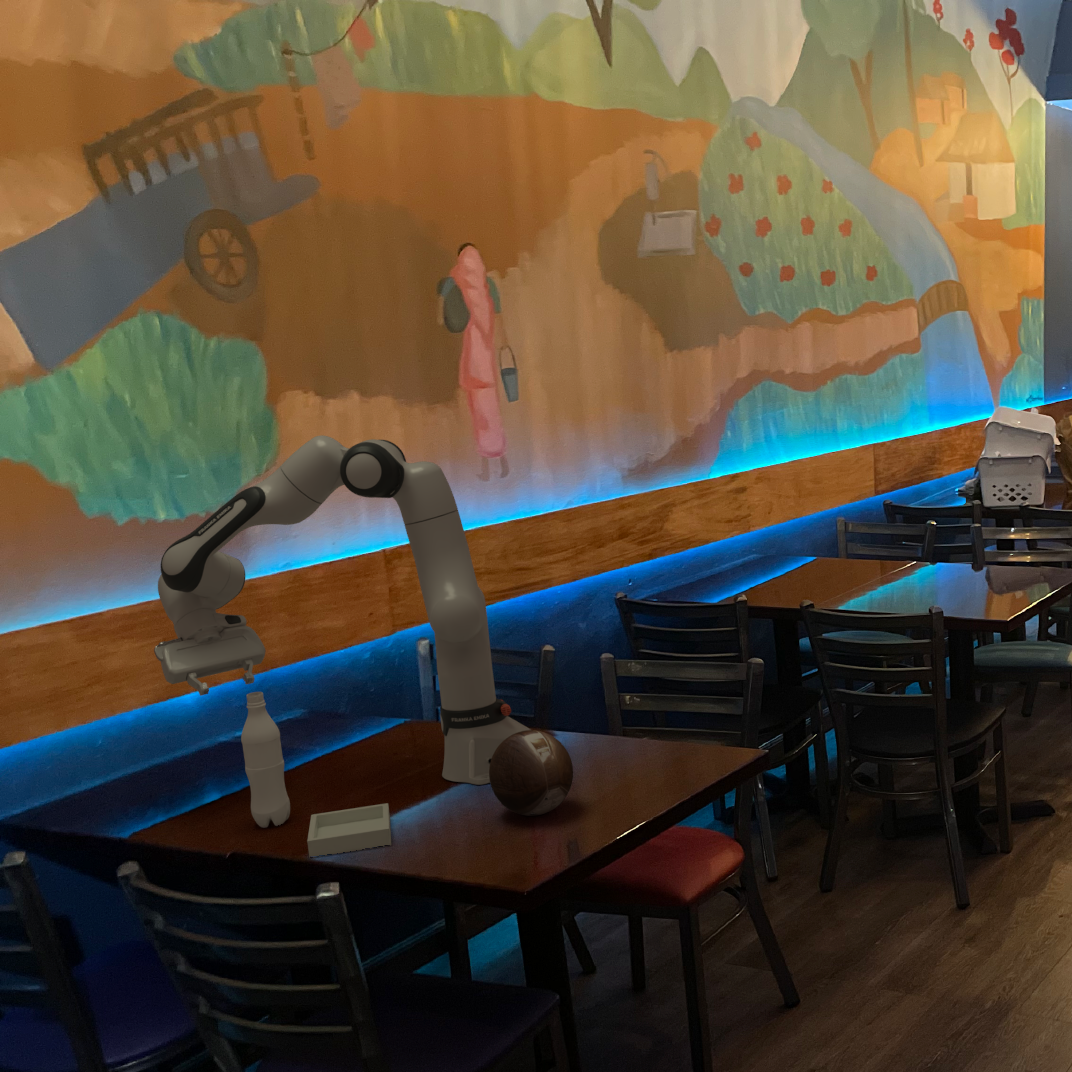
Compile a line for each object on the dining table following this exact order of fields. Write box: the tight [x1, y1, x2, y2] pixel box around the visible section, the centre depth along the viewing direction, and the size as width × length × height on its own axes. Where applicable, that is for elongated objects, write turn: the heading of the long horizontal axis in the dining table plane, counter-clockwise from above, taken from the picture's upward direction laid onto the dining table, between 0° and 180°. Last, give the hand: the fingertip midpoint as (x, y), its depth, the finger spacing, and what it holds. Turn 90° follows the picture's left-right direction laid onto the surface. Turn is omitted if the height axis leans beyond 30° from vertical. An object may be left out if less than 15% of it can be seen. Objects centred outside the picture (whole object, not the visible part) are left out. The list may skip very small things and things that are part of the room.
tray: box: [306, 802, 392, 858], centre depth 214 cm, size 14×14×3 cm
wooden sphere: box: [489, 729, 574, 817], centre depth 216 cm, size 15×15×15 cm
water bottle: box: [240, 691, 291, 829], centre depth 226 cm, size 7×7×25 cm
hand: (228, 687), depth 235 cm, fingers open, 8 cm apart
